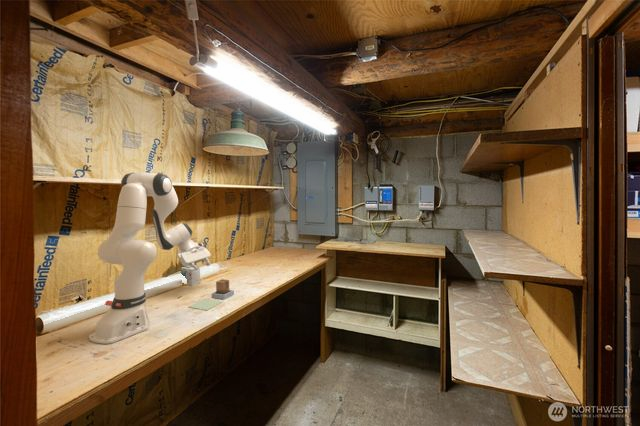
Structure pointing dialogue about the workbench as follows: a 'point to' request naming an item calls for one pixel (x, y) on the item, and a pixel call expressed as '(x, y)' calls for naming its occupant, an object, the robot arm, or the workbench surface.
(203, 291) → the workbench surface
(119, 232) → the robot arm
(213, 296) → the gray square frame
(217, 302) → the rubber mat
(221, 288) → the walnut block
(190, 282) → the light bulb box
